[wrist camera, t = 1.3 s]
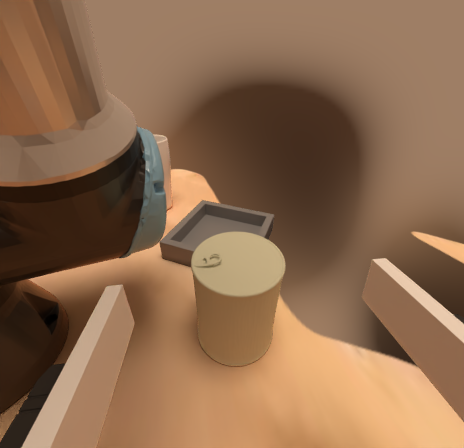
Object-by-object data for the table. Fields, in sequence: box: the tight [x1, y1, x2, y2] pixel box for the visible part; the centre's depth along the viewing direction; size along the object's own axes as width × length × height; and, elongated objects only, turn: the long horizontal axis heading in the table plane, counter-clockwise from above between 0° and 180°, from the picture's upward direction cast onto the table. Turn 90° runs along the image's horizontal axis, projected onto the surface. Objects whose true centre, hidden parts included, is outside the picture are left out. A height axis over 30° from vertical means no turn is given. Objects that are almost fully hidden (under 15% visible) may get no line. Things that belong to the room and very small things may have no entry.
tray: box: [160, 200, 274, 267], centre depth 43 cm, size 15×15×4 cm
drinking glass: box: [153, 135, 173, 210], centre depth 50 cm, size 7×7×15 cm
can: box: [191, 232, 285, 366], centre depth 26 cm, size 9×9×12 cm
